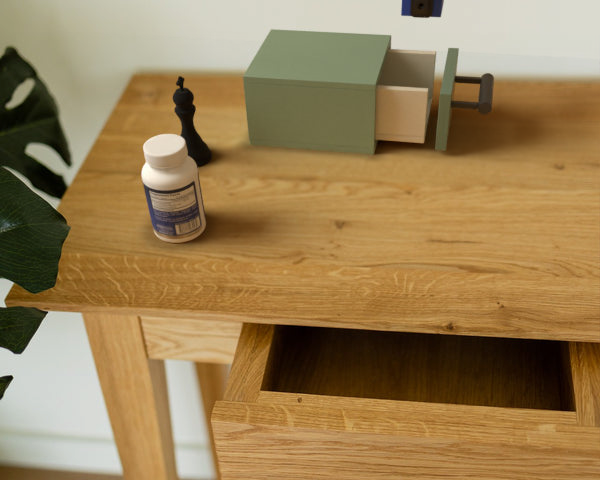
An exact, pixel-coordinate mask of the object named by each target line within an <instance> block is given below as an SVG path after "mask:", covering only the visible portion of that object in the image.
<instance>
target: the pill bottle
mask: <svg viewBox="0 0 600 480" xmlns="http://www.w3.org/2000/svg"><path fill="white" fill-rule="evenodd" d="M142 151H143V156H144V160H145V163H144V164H143V166H142V168H141V173H140V174H141V181H142V186H143V190H144V194H145V199H146V203H147V208H148V212H149V213H148V214H149V216H150V221H151V225H152V226H151V227H152V228H153V233H154V234H155V236H156V237H157V238H158V239H159V240H161V241H164V242H166V243H173V244H178V243H179V244H181V243H185V242H189V241H192V240H194V239H196V238H198V237H199V236H200V235H201V234H202V233H203V232H204V231H205V229H206V227H207V218H206V212H205V204H204V199H203V193H202V192H203V191H202V186H201V179H200V173H199V167H197V165H196V163H195V161H194V160H193V159H192V158H191V157H190V156H188V151H187V146H186V142H185V140H184V138H183V137H181V135H179V134H175V133H162V134H157V135H154V136H152V137H149V138H148V139H147V140H146V141H145V142H144V143H143V146H142Z"/></svg>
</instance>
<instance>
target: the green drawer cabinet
mask: <svg viewBox="0 0 600 480" xmlns="http://www.w3.org/2000/svg"><path fill="white" fill-rule="evenodd" d="M389 49H392V35H391V34H377V33H375V34H373V33H355V32H353V33H352V32H333V31H313V30H312V31H311V30H294V29H293V30H292V29H291V30H290V29H276V28H275V29H272V28H271V29H270V31H268V34H267V35H266V36H265V39H264V40H263V41H262V44H261V46H260V47H259V49H258V51H256V54H255V55H254V57H253V59H252V61H251V62H250V64H249V65H248V67H247V68H246V70H245V72H244V74H243V75H242V82H243V92H244V103H245V113H246V122H247V123H246V125H247V133H248V142H249V145H250V146H261V147H272V148H285V149H297V150H308V151H321V152H334V153H335V152H336V153H347V154H360V155H371V156H372V155H373V156H374V155H375V152H376V149H377V146H378V141H379V140H375V129H376V91H377V85H378V81H379V78H380V75H381V72H382V69H383V66H384V62H385V59H386V56H387V53H388V50H389Z"/></svg>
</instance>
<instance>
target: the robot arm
mask: <svg viewBox="0 0 600 480" xmlns="http://www.w3.org/2000/svg"><path fill="white" fill-rule="evenodd" d="M433 2H434V0H411V6H410V14H411V16H410V17H412V18H417V19H418V18H419V19H428V18H432V17H431V15H432V12H433Z"/></svg>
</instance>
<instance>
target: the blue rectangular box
mask: <svg viewBox="0 0 600 480" xmlns="http://www.w3.org/2000/svg"><path fill="white" fill-rule="evenodd" d="M444 3H445V0H434V2H433V12H432V15H431V17H430V18H441V17H442V14H443V8H444ZM410 6H411V0H401V8H400V9H401V11H400V15H401V16H402V17H412V16H411V14H410Z"/></svg>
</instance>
